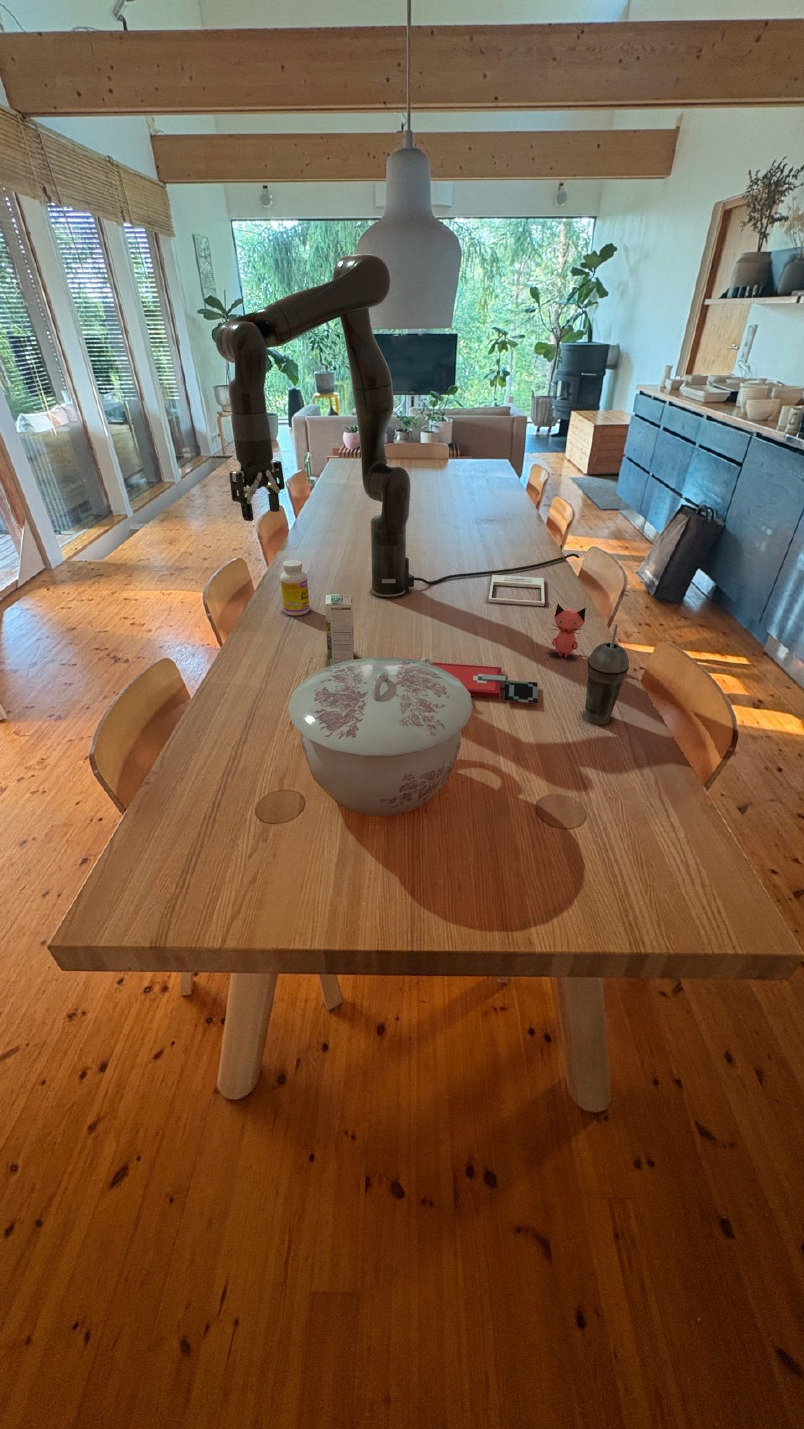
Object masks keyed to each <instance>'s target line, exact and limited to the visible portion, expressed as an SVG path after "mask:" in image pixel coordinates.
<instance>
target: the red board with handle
mask: <svg viewBox="0 0 804 1429" xmlns="http://www.w3.org/2000/svg"><path fill="white" fill-rule="evenodd" d="M431 662H432V661H431ZM432 663H433V664H434V666H436V667H439V668H442V669H443V670H445V671H446V672H448V673H450V674H451V675H453V676H454V677H456V678H458V679H459V680H460V681H461V683H462V684H463V685H464V686H465V688H466V689H467V690H468V691H469V693H470V694H471V696H476V697H490V698H500V693H501V692H500V691H501V689H504V690H503V692H504V693H503V701H507V702H520V703H531V704H538V702H539V698H538V696H539V693H538V682H537V681H523V680H510V679H506V677H507V676H506V675H502V670H503V669H502V667H501V666H489V665H488V666H487V665H475V664H459V663H447V662H445V663H444V662H432Z"/></svg>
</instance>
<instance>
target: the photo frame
mask: <svg viewBox="0 0 804 1429" xmlns="http://www.w3.org/2000/svg"><path fill="white" fill-rule="evenodd" d="M494 586H505V587H506V586H507V587H520V588H521V587H522V588H533V589H535V588H537V589H540V593H541V594H540V595H541V596H540V597H541V601H540V600H525V599H511V598H499V597H498V598H497V597H493V589H494ZM487 601H488V603H496V604H511V605H523V606H524V605H525V606H540V607H544V606H545V603H546V602H545V601H546V600H545V577H532V576H530V577H529V576H519V575H518V576H517V575H516V576H515V575H499V574H491V580H490V588H489V594H488V600H487Z"/></svg>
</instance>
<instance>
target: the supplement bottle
mask: <svg viewBox="0 0 804 1429" xmlns="http://www.w3.org/2000/svg"><path fill="white" fill-rule="evenodd" d="M282 569H283V572H281V574H280V577H279V579H280V580H279V581H280V588H281V597H282V598H281V599H282V608H283V612H284V613H285V614H286V615H288V616H294V617H295V616H296V617H297V616H303V615H306V614H307V613H308V612H309V611H310V596H309V585H308V576H307V573H306V572H305V571H303V570H302V569H303V562H302V561H301V560H298V559H289V560H286V561H283V563H282Z"/></svg>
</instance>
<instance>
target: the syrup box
mask: <svg viewBox="0 0 804 1429" xmlns="http://www.w3.org/2000/svg"><path fill="white" fill-rule="evenodd" d="M353 607H354V606H353V595H352V594H345V593H335V594H333V593H332V594H326V595H325V606H324V608H325V609H324V610H325V630H326V631H325V632H326V650H327V652H326V653H327V667H329V666H332V665H335V664H338V663H341V662H344V661H348V660H355V646H354V645H355V642H354V610H353V609H354V608H353Z"/></svg>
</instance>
